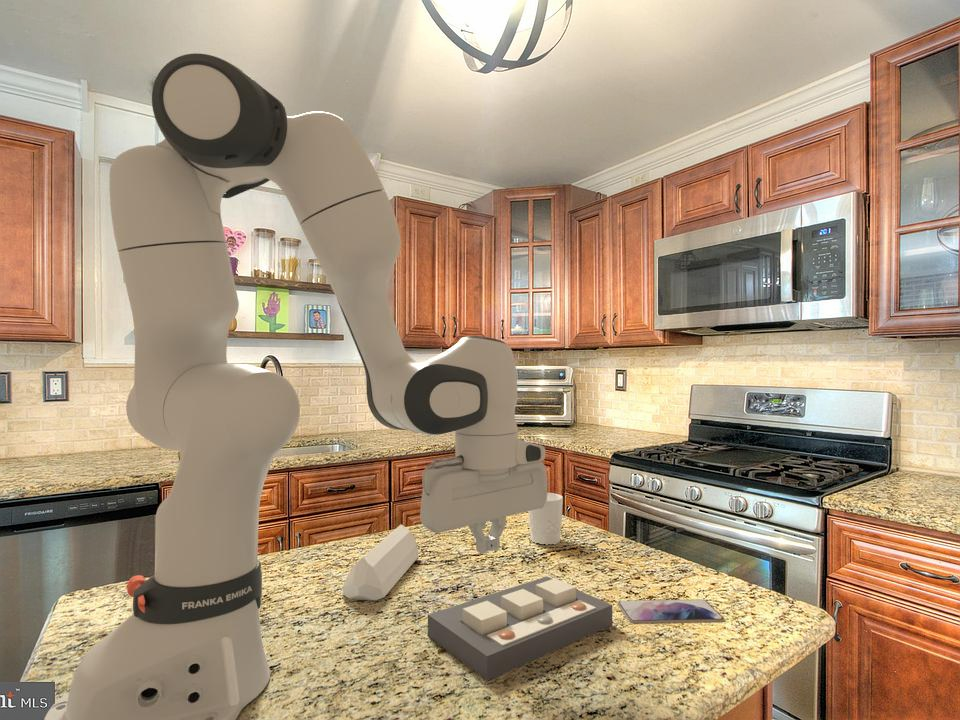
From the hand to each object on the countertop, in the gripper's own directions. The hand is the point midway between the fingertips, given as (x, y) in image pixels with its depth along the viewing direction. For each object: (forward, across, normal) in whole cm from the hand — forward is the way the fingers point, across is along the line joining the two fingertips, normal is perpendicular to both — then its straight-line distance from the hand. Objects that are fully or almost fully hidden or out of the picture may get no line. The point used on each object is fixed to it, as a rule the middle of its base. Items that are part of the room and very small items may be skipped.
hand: (487, 550), depth 74 cm
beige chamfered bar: (+14, -1, +31) cm, 34 cm away
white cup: (+15, +38, +28) cm, 50 cm away
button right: (+12, +13, 0) cm, 18 cm away
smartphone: (+14, +29, -9) cm, 34 cm away
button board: (+13, +6, 0) cm, 15 cm away
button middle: (+11, +6, 0) cm, 13 cm away
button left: (+11, -1, 0) cm, 11 cm away
